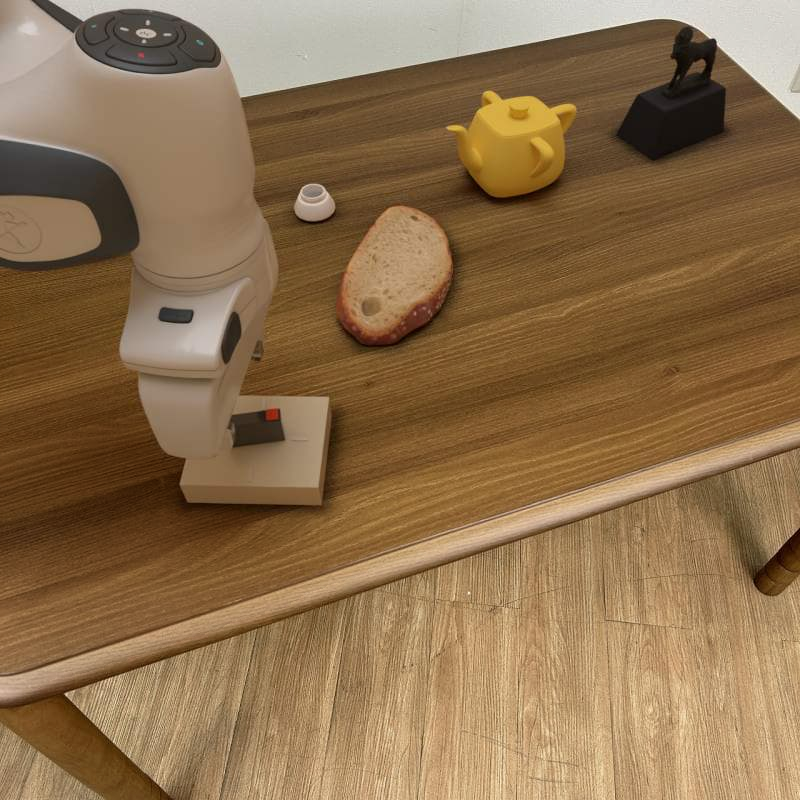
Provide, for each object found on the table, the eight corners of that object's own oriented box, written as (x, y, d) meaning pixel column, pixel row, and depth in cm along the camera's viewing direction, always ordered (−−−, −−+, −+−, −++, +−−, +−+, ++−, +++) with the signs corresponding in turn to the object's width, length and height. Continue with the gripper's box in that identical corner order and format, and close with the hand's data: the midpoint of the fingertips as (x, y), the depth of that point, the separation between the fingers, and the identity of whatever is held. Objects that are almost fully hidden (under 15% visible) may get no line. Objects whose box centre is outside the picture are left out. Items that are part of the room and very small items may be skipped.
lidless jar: (330, 225, 90) (338, 200, 93) (328, 205, 88) (337, 180, 91) (290, 222, 91) (300, 197, 94) (287, 201, 89) (297, 177, 92)
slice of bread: (412, 209, 92) (412, 183, 89) (503, 291, 83) (506, 265, 80) (284, 263, 86) (279, 238, 83) (366, 359, 76) (364, 333, 74)
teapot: (541, 222, 90) (553, 147, 82) (442, 198, 93) (445, 122, 85) (571, 162, 98) (585, 88, 90) (479, 141, 101) (485, 68, 93)
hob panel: (187, 502, 66) (178, 483, 64) (209, 414, 72) (202, 393, 70) (321, 505, 66) (318, 486, 63) (331, 416, 72) (329, 395, 69)
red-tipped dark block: (229, 448, 66) (222, 426, 63) (229, 435, 67) (221, 413, 64) (285, 440, 66) (280, 418, 64) (284, 428, 67) (279, 406, 65)
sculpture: (612, 132, 102) (638, 20, 90) (686, 106, 106) (720, -4, 94) (651, 161, 98) (683, 47, 86) (727, 133, 102) (767, 20, 90)
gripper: (205, 176, 58) (236, 307, 68) (107, 373, 45) (163, 495, 55) (285, 182, 57) (303, 313, 68) (209, 383, 44) (245, 505, 55)
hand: (239, 397), depth 61 cm, fingers open, 8 cm apart
